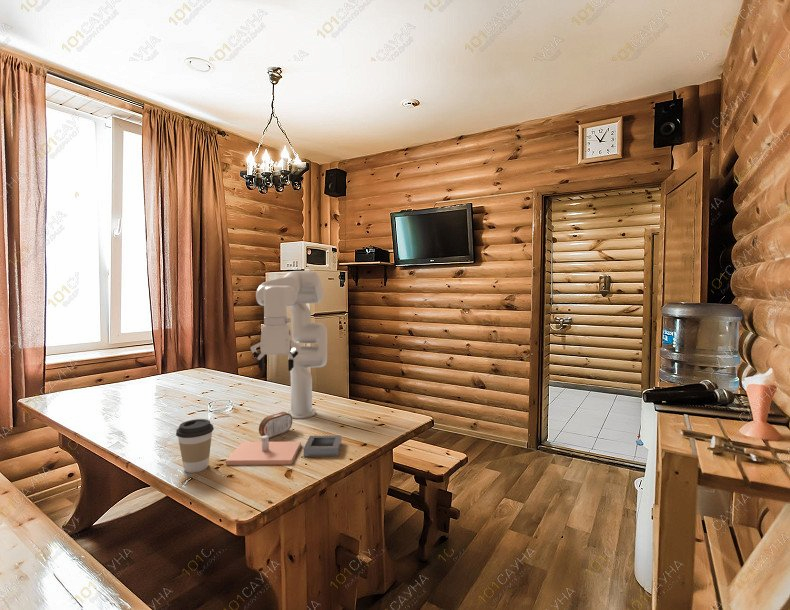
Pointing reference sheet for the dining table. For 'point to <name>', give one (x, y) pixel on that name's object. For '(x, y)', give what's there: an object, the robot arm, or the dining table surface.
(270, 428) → the tin
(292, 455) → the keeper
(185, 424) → the coffee cup
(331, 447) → the grey square frame
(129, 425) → the dining table surface
